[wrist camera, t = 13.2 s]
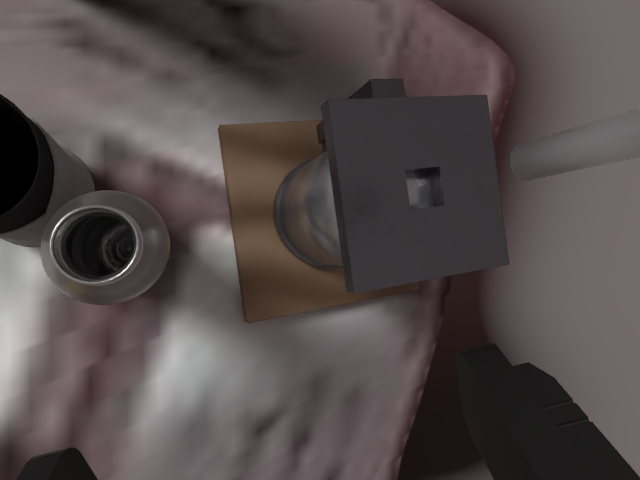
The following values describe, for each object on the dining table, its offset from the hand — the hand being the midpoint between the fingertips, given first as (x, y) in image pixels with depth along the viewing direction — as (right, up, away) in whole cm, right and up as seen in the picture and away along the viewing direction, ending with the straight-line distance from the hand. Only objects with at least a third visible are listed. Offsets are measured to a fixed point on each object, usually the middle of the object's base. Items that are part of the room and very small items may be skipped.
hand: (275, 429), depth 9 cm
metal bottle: (-16, +3, +29) cm, 34 cm away
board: (+1, +6, +35) cm, 36 cm away
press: (+1, +8, +34) cm, 35 cm away
